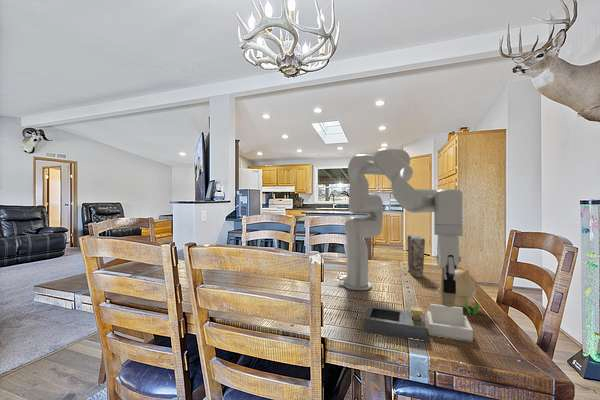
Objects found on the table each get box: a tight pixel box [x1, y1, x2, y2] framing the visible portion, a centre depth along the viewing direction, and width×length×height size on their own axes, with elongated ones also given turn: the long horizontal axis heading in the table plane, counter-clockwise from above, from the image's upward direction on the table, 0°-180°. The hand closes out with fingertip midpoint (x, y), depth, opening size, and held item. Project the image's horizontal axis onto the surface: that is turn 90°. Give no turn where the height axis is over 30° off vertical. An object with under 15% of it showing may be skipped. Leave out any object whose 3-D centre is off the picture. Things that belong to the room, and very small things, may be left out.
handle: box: [436, 254, 462, 307], centre depth 84 cm, size 5×6×15 cm
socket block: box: [363, 305, 428, 342], centre depth 86 cm, size 17×10×4 cm, turn 69°
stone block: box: [406, 234, 426, 278], centre depth 146 cm, size 13×7×20 cm, turn 177°
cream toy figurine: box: [437, 268, 479, 315], centre depth 103 cm, size 15×10×15 cm
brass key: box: [410, 306, 423, 321], centre depth 84 cm, size 3×3×7 cm
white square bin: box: [426, 303, 474, 344], centre depth 84 cm, size 11×10×6 cm
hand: (448, 289), depth 84 cm, fingers closed on handle, 3 cm apart
